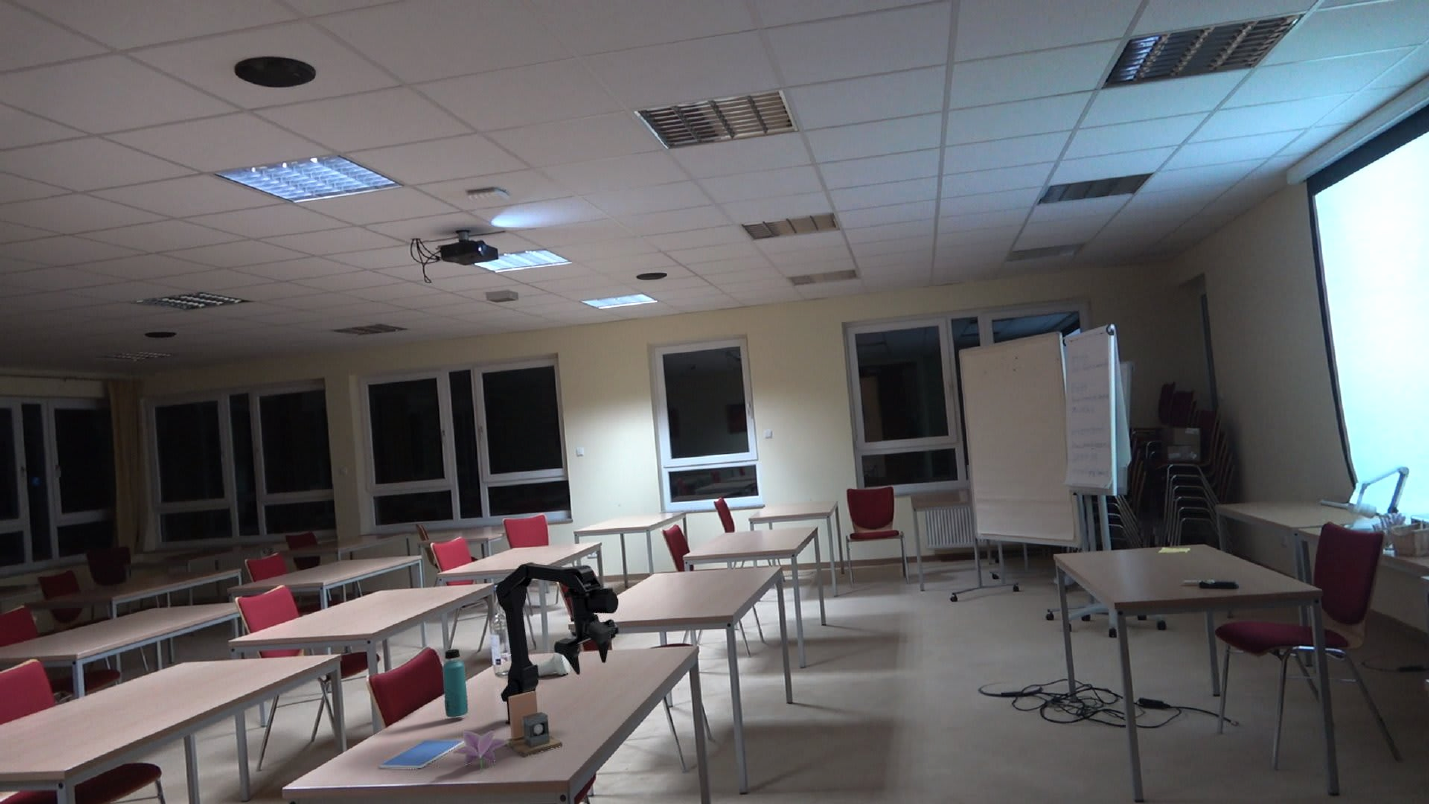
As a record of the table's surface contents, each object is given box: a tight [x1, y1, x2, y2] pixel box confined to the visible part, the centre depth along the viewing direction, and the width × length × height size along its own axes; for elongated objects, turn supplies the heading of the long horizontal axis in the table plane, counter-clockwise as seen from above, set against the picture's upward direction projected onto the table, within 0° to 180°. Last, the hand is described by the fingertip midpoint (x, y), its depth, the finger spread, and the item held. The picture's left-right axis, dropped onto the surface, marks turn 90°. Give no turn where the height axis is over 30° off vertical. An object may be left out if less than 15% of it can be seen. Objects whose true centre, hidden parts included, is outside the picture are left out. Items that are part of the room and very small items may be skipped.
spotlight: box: [533, 652, 571, 678], centre depth 298 cm, size 8×11×8 cm
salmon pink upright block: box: [508, 690, 543, 739], centre depth 225 cm, size 10×7×10 cm
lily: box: [452, 730, 510, 773], centre depth 210 cm, size 12×12×10 cm
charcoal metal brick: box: [523, 711, 550, 748], centre depth 221 cm, size 4×5×7 cm
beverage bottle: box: [441, 648, 469, 718], centre depth 255 cm, size 6×7×20 cm
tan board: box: [505, 734, 563, 758], centre depth 224 cm, size 14×10×1 cm
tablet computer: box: [378, 740, 465, 770], centre depth 224 cm, size 19×13×1 cm, turn 163°
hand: (591, 668), depth 238 cm, fingers open, 9 cm apart
